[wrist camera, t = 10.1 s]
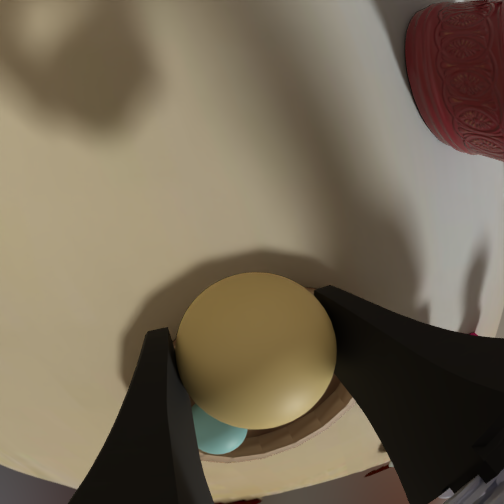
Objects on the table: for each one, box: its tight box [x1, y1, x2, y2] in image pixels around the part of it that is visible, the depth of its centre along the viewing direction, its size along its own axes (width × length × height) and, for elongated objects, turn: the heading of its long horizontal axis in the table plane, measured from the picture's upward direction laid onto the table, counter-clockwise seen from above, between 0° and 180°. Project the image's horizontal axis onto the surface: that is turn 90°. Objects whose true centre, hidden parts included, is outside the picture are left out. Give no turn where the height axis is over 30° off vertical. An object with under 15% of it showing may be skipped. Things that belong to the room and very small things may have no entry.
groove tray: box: [173, 287, 356, 463], centre depth 21 cm, size 18×18×3 cm
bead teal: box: [191, 403, 247, 454], centre depth 19 cm, size 5×5×5 cm
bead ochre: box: [175, 272, 337, 429], centre depth 8 cm, size 5×5×5 cm
